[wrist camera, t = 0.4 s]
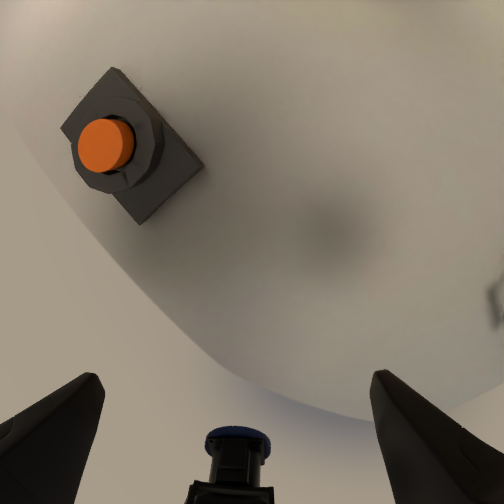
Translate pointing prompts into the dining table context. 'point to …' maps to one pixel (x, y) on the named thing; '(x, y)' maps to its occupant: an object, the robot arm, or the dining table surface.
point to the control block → (145, 147)
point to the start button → (105, 145)
